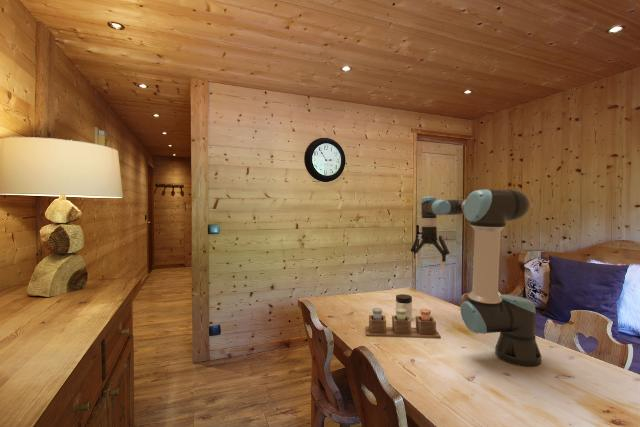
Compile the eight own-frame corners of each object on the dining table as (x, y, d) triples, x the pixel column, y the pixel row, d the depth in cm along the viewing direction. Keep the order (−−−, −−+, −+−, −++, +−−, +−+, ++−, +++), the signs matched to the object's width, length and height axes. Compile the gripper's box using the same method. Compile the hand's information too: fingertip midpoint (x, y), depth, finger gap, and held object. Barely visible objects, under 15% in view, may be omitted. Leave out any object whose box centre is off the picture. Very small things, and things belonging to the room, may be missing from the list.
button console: (440, 338, 142) (440, 323, 141) (366, 336, 145) (365, 321, 145) (435, 329, 152) (435, 315, 151) (365, 327, 155) (365, 314, 155)
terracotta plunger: (431, 326, 145) (431, 312, 144) (421, 326, 145) (421, 311, 145) (429, 323, 149) (429, 308, 149) (419, 323, 150) (419, 308, 150)
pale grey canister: (382, 325, 147) (382, 311, 147) (372, 325, 148) (372, 310, 147) (381, 322, 152) (381, 307, 151) (372, 321, 152) (372, 307, 152)
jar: (415, 319, 166) (415, 296, 166) (406, 323, 161) (406, 299, 161) (401, 315, 173) (401, 293, 173) (392, 318, 168) (392, 296, 168)
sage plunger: (407, 326, 146) (407, 311, 146) (396, 326, 146) (396, 311, 146) (405, 322, 150) (405, 308, 150) (395, 322, 151) (395, 308, 151)
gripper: (456, 226, 161) (456, 268, 161) (410, 225, 178) (411, 263, 178) (450, 227, 155) (450, 270, 155) (404, 225, 173) (404, 264, 173)
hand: (429, 266), depth 167 cm, fingers open, 13 cm apart
